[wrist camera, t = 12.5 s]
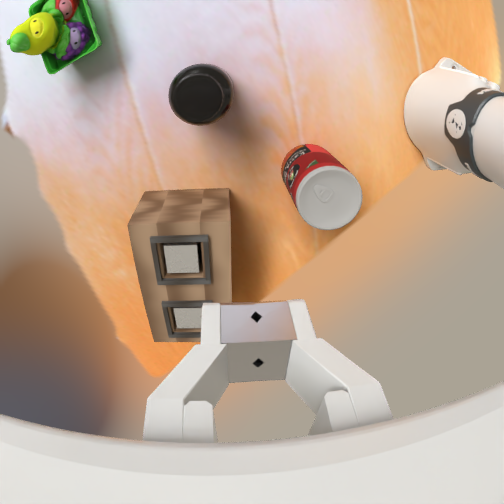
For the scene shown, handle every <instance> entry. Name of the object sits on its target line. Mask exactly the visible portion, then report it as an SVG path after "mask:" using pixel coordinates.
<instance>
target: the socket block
mask: <svg viewBox="0 0 504 504" xmlns="http://www.w3.org/2000/svg"><path fill="white" fill-rule="evenodd" d="M128 230H129V236H130V241H131V246H132V251H133V256H134V261H135V266H136V270H137V275H138V279H139V284H140V288H141V292H142V297H143V301H144V305H145V309H146V313H147V317H148V320H149V324H150V328H151V332H152V335H153V339H154V342H201V328H177V325H176V319H175V314H174V307H202V305H203V303H221V302H232V283H231V217H230V200H229V188H226V189H190V190H166V191H147V192H145V193H144V194H143V196H142V198H141V200H140V202H139V204H138V206H137V208H136V209H135V211H134V213H133V215H132V217H131V219H130V221H129V223H128ZM177 242H201V256H200V268H199V272H198V273H167V266H166V259H165V253H164V243H177ZM220 310H221V308H220Z"/></svg>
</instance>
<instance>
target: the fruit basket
mask: <svg viewBox="0 0 504 504" xmlns="http://www.w3.org/2000/svg"><path fill="white" fill-rule="evenodd" d="M87 2H88V1H87V0H38V1H36V2H35V3H33V4H32V5H31V6H30V8H29V16H30V18H28V19H27V20H26V21H25V22H24V23H23V24H21V25H19V26H17V27H16V28H15V29H14V30H13V32H12V34H11V36H10V39H8V40H7V45H10V49H11V50H12V51H13V52H17V53H25V54H27V55H39V54H41V55H42V58H43V61H44V64H45V67H46V69H47V72H48V73H49V74H55V73H57V72H58V71H60V70H61V69H63V68H64V67H66V66H68V65H69V64H71V63H72V62H74V61H76V60H78V59H79V58H81V57H83V56H85V55H86V54H88V53H90V52H92V51H94V50H95V49H96V48H97V47H99V46H101V44H102V43H101V40H100V37H99V35H98V34H97V28H96V25H95V22H94V21H93V19H92V13H91V10H90V7H89V6H88V5H87Z"/></svg>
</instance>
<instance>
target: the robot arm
mask: <svg viewBox="0 0 504 504" xmlns="http://www.w3.org/2000/svg"><path fill="white" fill-rule="evenodd" d="M452 66H453V69H452ZM499 90H500V86H499V85H497V84H496V83H493V82H491V81H488V82H487V79H486V78H484V77H481V76H479V77H478V76H477V75H475V74H473V73H472V72H470V71H469V70H467V69H466V68H464V67H463V66H461V65H460V64H458V63H457V62H455V61H454V60H452V59H450V58H447V57H443V58H442V59H440V61H439V62H438V63H437V64H436V66H435V67H434V68H433V69H431V70H429V71H426V72H424V73H423V74H421V75H420V76H419V77H418V78H417V79H416V80H415V81H414V82H413V83H412V85H411V87H410V88H409V91H408V93H407V96H406V99H405V105H404V120H405V126H406V129H407V132H408V135H409V137H410V139H411V140H412V142H413V143H414V145H415V146H416V147H417V148H418V149H419V150H420V151H421V153H422V155H423V158H424V161H425V164H426V166H427V167H428V168H429V169H431V170H442V169H449V170H451V171H452V172H454V173H456V174H459V175H462V174H463V173H471V172H472V173H473V174H474V175H476V176H477V177H479V178H482V179H484V180H486V181H489V182H494V183H496V184H497V185H499V186H500V187H502V188H503V189H504V92H501V91H499ZM220 308H221V310H220ZM264 380H265V381H266V380H285V381H286V382H287V383H288V385H289V386H290V387H291V388H292V389H293V390H294V391H295V392H296V393H297V395H298V396H299V397H300V398H301V399H302V400H303V401H304V402H305V403H306V404H307V405H308V407H309V408H310V409H311V410H312V411H313V412H314V413H315V414H316V418H315V420H314V423H313V425H312V427H311V429H310V432H309V434H308V436H302V437H294V438H285V439H275V440H264V441H249V442H228V443H218V439H217V433H216V427H215V420H214V413H213V409H214V407H215V406H216V404H217V402H218V401H219V400H220V398H221V396H222V395H223V393H224V392H225V390H226V388H227V387H228V385H229V383H235V382H249V381H264ZM0 504H504V381H502V382H499V383H497V384H495V385H493V386H490V387H488V388H485V389H483V390H481V391H478V392H476V393H473V394H470V395H468V396H465V397H463V398H460V399H457V400H454V401H452V402H449V403H446V404H443V405H440V406H437V407H434V408H430V409H428V410H424V411H421V412H418V413H414V414H410V415H407V416H403V417H400V418H396V419H393V416H392V414H391V411H390V408H389V405H388V403H387V400H386V398H385V395H384V393H383V390H382V387H381V385H380V383H379V382H378V381H377V380H375V379H374V378H373V377H372V376H370V375H369V374H368V373H366V372H365V371H364V370H362V369H361V368H360V367H358V366H357V365H356V364H354V363H353V362H352V361H350V360H349V359H348V358H347V357H345V356H344V355H343V354H342V353H340V352H339V351H338V350H336V349H335V348H334V347H333V346H331V345H330V344H329V343H327V342H326V341H325V340H323V339H322V338H317V337H316V334H315V331H314V328H313V325H312V321H311V318H310V315H309V312H308V309H307V306H306V303H305V301H304V300H303V299H298V300H297V299H296V300H287V301H268V302H267V301H266V302H221V303H203V305H202V319H201V344H199V345H195V346H194V347H193V348H192V349H191V350H190V351H189V352H188V354H187V355H186V356H185V357H184V358H183V359H182V360H181V362H180V363H179V364H178V365H177V366H176V367H175V368H174V369H173V370H172V372H171V373H170V374H169V375H168V376H167V377H166V378H165V379H164V381H163V382H162V383H161V384H160V385H159V386H158V387H157V388H156V390H155V391H154V392H153V393H152V394H151V395H150V396H149V397H148V399H147V407H146V415H145V423H144V432H143V441H142V440H130V439H121V438H113V437H105V436H98V435H91V434H84V433H79V432H72V431H67V430H62V429H58V428H53V427H48V426H44V425H39V424H35V423H31V422H27V421H23V420H19V419H16V418H13V417H9V416H6V415H2V414H0Z"/></svg>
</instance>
